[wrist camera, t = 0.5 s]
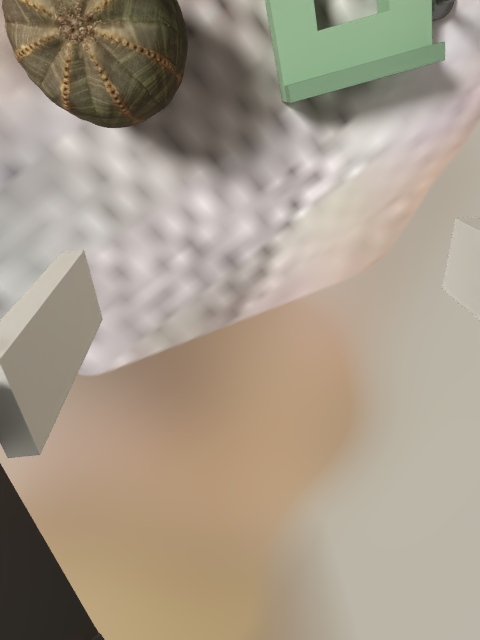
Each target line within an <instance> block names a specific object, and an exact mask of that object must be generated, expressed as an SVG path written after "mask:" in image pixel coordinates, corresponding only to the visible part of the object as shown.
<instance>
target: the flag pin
mask: <svg viewBox="0 0 480 640" xmlns="http://www.w3.org/2000/svg"><path fill="white" fill-rule="evenodd" d="M454 1H455V0H432V20H437V19H440V18H443V17H444V16H446V15H447V14H448V13H449V12H450V10H451V9H452V7H453V4H454Z"/></svg>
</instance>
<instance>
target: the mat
mask: <svg viewBox="0 0 480 640" xmlns="http://www.w3.org/2000/svg"><path fill="white" fill-rule="evenodd" d="M265 3H266V9H267V15H268V21H269V26H270V32H271V38H272V44H273V50H274V56H275V61H276V67H277V73H278V79H279V85H280V91H281V97H282V102H288V103H292V102H296V101H299V100H303V99H306V98H310V97H314V96H317V95H321V94H324V93H328V92H332V91H335V90H339V89H343V88H346V87H350V86H353V85H357V84H361V83H364V82H368V81H371V80H375V79H379V78H382V77H386V76H389V75H393V74H397V73H400V72H404V71H407V70H411V69H415V68H418V67H422V66H425V65H429V64H433V63H436V62H440V61H443V60H445V42H441V43H437V44H432V0H378V14H375V15H371V16H368V17H364V18H361V19H357V20H354V21H350V22H347V23H343V24H340V25H337V26H333V27H330V28H326V29H323V30H319V31H317V23H316V15H315V7H314V0H265Z"/></svg>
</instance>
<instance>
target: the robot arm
mask: <svg viewBox="0 0 480 640" xmlns="http://www.w3.org/2000/svg"><path fill="white" fill-rule="evenodd" d="M442 289H443V290H444V291H445V292H447V293H448V294H449V295H450V296H451V297H452V298H454V299H455V300H456V301H457V302H458V303H460V304H461V305H462V306H463V307H464V308H465V309H466V310H468V311H469V312H470V313H471V314H472V315H473V316H475V317H476V318H477V319H478V320H479V321H480V218H479V217H466V218H456V220H455V225H454V230H453V236H452V240H451V245H450V251H449V256H448V261H447V266H446V271H445V276H444V281H443V286H442ZM101 321H102V315H101V311H100V308H99V304H98V300H97V296H96V293H95V289H94V285H93V282H92V278H91V274H90V270H89V267H88V263H87V259H86V255H85V252H84V250H81V251H69V252H62V253H61V254H60V255H59V256H58V257H57V258H56V259H55V260H54V261H53V263H52V264H51V265H50V266H49V267H48V268H47V269H46V270H45V271H44V273H43V274H42V275H41V276H40V277H39V278H38V279H37V280H36V281H35V283H34V284H33V285H32V286H31V287H30V288H29V289H28V290H27V292H26V293H25V294H24V295H23V296H22V297H21V298H20V299H19V300H18V302H17V303H16V304H15V305H14V306H13V307H12V308H11V309H10V310H9V312H8V313H7V314H6V315H5V316H4V317H3V318H2V319H1V320H0V443H1V445H2V447H3V449H4V451H5V453H6V455H7V457H8V458H13V457H22V456H33V455H40V454H41V452H42V449H43V447H44V445H45V443H46V441H47V439H48V437H49V434H50V432H51V430H52V428H53V425H54V424H55V421H56V419H57V417H58V415H59V413H60V410H61V408H62V406H63V404H64V402H65V400H66V397H67V395H68V393H69V391H70V389H71V387H72V384H73V382H74V380H75V378H76V376H77V374H78V371H79V369H80V367H81V365H82V363H83V361H84V358H85V356H86V354H87V352H88V350H89V348H90V345H91V343H92V341H93V339H94V337H95V334H96V332H97V330H98V328H99V326H100V324H101ZM0 640H104V638H103V637H102V635H101V634H100V633H98V631H97V629H96V628H95V626H94V624H93V623H92V621H91V619H90V618H89V616H88V614H87V612H86V611H85V609H84V607H83V605H82V604H81V602H80V600H79V598H78V597H77V595H76V593H75V592H74V590H73V588H72V586H71V585H70V583H69V581H68V580H67V578H66V576H65V574H64V573H63V571H62V569H61V567H60V566H59V564H58V562H57V561H56V559H55V557H54V555H53V554H52V552H51V550H50V549H49V547H48V545H47V543H46V542H45V540H44V538H43V536H42V535H41V533H40V532H39V530H38V528H37V526H36V524H35V523H34V521H33V519H32V517H31V516H30V514H29V512H28V511H27V509H26V507H25V506H24V504H23V502H22V500H21V499H20V497H19V495H18V493H17V492H16V490H15V488H14V486H13V485H12V483H11V481H10V479H9V478H8V476H7V474H6V473H5V471H4V469H3V467H2V466H1V464H0Z"/></svg>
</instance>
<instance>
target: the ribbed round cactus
mask: <svg viewBox="0 0 480 640" xmlns="http://www.w3.org/2000/svg"><path fill="white" fill-rule="evenodd" d="M2 8H3V12H4V17H5V27H6V32H7V36H8V38H9V41H10V43H11V45H12V48H13V51H14V54H15V57H16V59H17V60H18V62H19V63H20V64H21V66H22V67H23V68H24V69H25V71H26V72H27V74H28V76H29V78H30V79H31V80H32V81H33V82H34V83H35V84H36V85H37V86H38V87H39V88H40V89H41V90H42V91H43V92H44V94H45V95H46V96H47V97H48V98H49V99H50V100H51V101H52V102H54V103H55V104H56V105H58V106H59V107H61V108H63V109H65V110H66V111H68V112H70V113H71V114H73V115H75V116H77V117H78V118H80V119H82V120H86V121H89V122H91V123H93V124H95V125H98V126H102V127H107V128H121V127H128V126H132V125H135V124H138V123H140V122H143V121H145V120H146V119H148V118H150V117H151V116H153V115H155V114H156V113H158V112H159V111H161V110H162V109H164V108H165V107H166V106H167V105H168V104H169V102H170V101H171V100H172V98H173V96H174V94H175V92H176V91H177V89H178V87H179V86H180V84H181V82H182V77H183V71H184V66H185V61H186V56H187V44H188V43H187V36H186V29H185V24H184V19H183V16H182V12H181V9H180V6H179V4H178V2H177V0H3V1H2Z"/></svg>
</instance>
